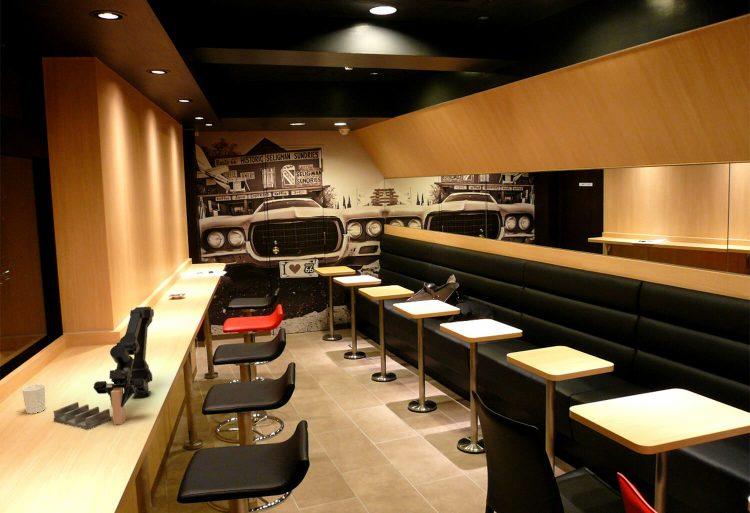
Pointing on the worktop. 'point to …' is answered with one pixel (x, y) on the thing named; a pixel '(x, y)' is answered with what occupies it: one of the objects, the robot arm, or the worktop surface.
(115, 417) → the clay bar
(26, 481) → the worktop surface
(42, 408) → the white cup
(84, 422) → the rack
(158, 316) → the worktop surface
